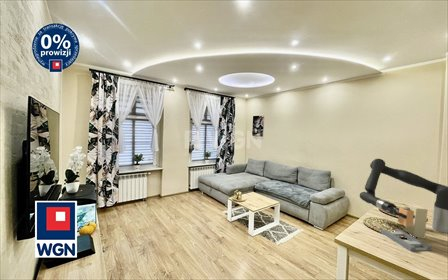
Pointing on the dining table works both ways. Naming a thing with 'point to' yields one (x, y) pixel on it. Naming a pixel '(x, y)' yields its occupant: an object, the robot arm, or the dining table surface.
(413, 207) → the pale yellow tall block
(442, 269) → the dining table surface
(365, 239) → the dining table surface
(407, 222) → the orange block with knob
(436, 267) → the dining table surface
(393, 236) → the frame
